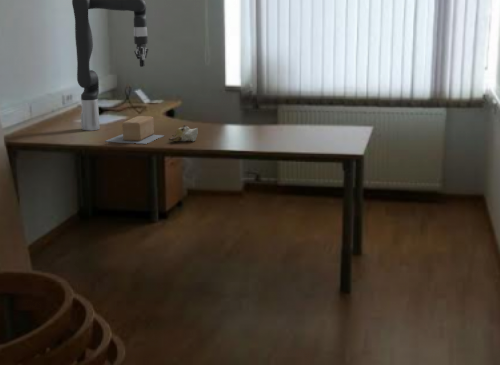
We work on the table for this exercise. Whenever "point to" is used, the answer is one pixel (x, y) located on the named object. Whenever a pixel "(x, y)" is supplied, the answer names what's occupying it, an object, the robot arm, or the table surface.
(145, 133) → the wooden block
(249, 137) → the table surface
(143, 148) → the table surface
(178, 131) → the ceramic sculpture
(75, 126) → the table surface
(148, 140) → the mat
